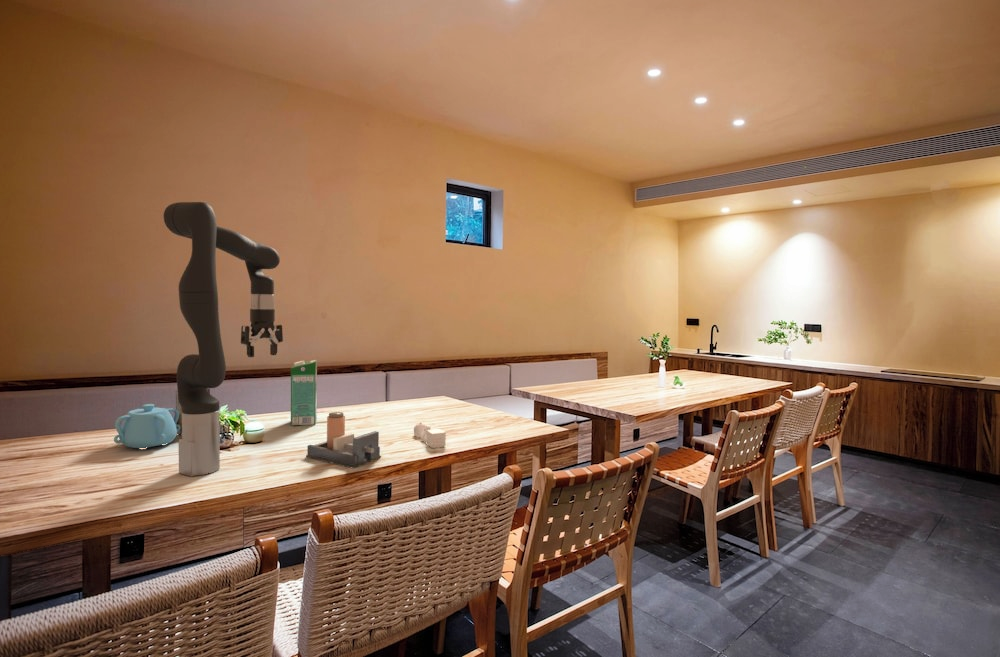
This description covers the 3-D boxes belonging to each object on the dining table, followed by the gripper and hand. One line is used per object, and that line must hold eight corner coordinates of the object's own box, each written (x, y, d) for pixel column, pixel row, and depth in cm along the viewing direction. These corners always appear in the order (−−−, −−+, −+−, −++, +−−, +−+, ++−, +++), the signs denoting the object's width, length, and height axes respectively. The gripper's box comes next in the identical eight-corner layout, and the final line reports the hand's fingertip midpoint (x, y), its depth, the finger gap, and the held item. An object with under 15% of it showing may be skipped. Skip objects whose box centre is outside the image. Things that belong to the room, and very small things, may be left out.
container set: (445, 447, 172) (446, 431, 172) (431, 449, 170) (431, 433, 169) (424, 433, 190) (424, 419, 189) (411, 435, 187) (411, 420, 187)
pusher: (364, 464, 150) (364, 444, 149) (333, 457, 155) (333, 438, 155) (380, 457, 156) (380, 438, 156) (350, 451, 162) (350, 433, 162)
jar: (335, 457, 156) (336, 416, 156) (322, 454, 159) (323, 413, 158) (348, 453, 161) (348, 413, 161) (335, 450, 164) (336, 411, 163)
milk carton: (292, 420, 203) (293, 359, 202) (316, 419, 206) (316, 359, 205) (290, 426, 195) (290, 362, 193) (315, 424, 197) (315, 361, 196)
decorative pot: (187, 438, 175) (187, 399, 174) (162, 452, 159) (162, 409, 158) (136, 439, 173) (136, 400, 172) (106, 452, 157) (105, 409, 156)
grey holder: (353, 468, 148) (354, 439, 148) (305, 457, 158) (306, 430, 157) (380, 457, 159) (381, 431, 159) (334, 447, 168) (334, 422, 168)
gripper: (250, 308, 159) (250, 358, 160) (288, 308, 172) (287, 355, 173) (235, 307, 163) (235, 357, 164) (273, 307, 175) (273, 353, 176)
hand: (262, 356), depth 168 cm, fingers open, 8 cm apart
